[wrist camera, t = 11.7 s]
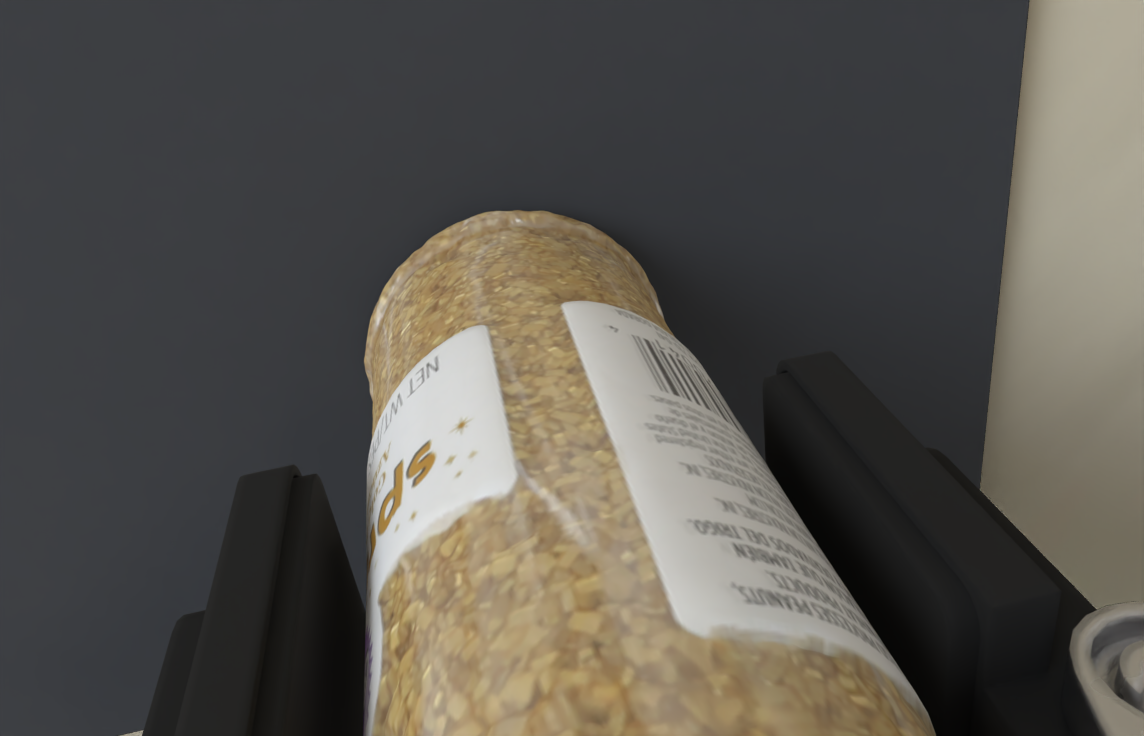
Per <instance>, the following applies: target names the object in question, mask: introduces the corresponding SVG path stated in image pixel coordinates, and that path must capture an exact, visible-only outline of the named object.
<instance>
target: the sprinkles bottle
mask: <svg viewBox="0 0 1144 736" xmlns="http://www.w3.org/2000/svg"><path fill="white" fill-rule="evenodd" d="M364 364H365V371H366V374H367V377H368V379H369V382H370V395H371V398H372V401H373V428H372V441H371V446H370V451H369V457H368V465H367V508H366V560H367V584H366V630H365V670H364V711H363V736H936V733H935V731H934V728H933V725H932V723H931V720H930V717H929V715H928V712H927V711H926V709H925V707H924V706H923V704H922V702H921V701H920V699H919V697H918V696H917V694H916V692H915V691H914V689H913V688H912V686H911V685H910V683H909V682H908V680H907V679H906V677H905V675H904V674H903V672H902V671H901V669H900V668H899V666H898V665H897V663H896V662H895V660H894V659H893V657H892V656H891V654H890V653H889V651H888V650H887V648H886V647H885V645H884V644H883V642H882V641H881V639H880V638H879V636H878V635H877V633H876V632H875V630H874V629H873V627H872V625H871V624H870V622H869V621H868V619H867V618H866V616H865V615H864V613H863V612H862V610H861V609H860V607H859V606H858V604H857V603H856V601H855V600H854V598H853V597H852V595H851V594H850V592H849V591H848V589H847V588H846V586H845V585H844V583H843V582H842V580H841V579H840V577H839V576H838V574H837V573H836V571H835V570H834V568H833V567H832V565H831V564H830V562H829V561H828V559H827V558H826V556H825V555H824V553H823V552H822V550H821V549H820V547H819V546H818V544H817V543H816V541H815V540H814V538H813V537H812V535H811V533H810V532H809V530H808V529H807V527H806V526H805V524H804V523H803V521H802V520H801V518H800V516H799V515H798V513H797V512H796V510H795V509H794V507H793V505H792V504H791V502H790V501H789V499H788V498H787V496H786V494H785V493H784V491H783V490H782V488H781V486H780V485H779V483H778V482H777V480H776V479H775V477H774V475H773V474H772V472H771V471H770V469H769V468H768V466H767V464H766V463H765V461H764V460H763V458H762V457H761V455H760V453H759V452H758V450H757V449H756V447H755V446H754V444H753V443H752V441H751V440H750V438H749V437H748V435H747V434H746V432H745V431H744V429H743V428H742V426H741V424H740V423H739V421H738V420H737V418H736V417H735V415H734V414H733V412H732V411H731V409H730V408H729V406H728V405H727V403H726V401H725V400H724V398H723V397H722V395H721V394H720V392H719V391H718V389H717V388H716V386H715V385H714V383H713V382H712V380H711V379H710V377H709V376H708V374H707V373H706V371H705V370H704V368H703V367H702V365H701V364H700V362H699V361H698V360H697V359H696V358H695V356H694V355H693V354H692V353H691V352H690V351H689V350H688V349H687V348H686V347H685V346H684V345H683V344H682V343H680V342H679V341H678V340H677V339H676V338H675V337H674V335H673V333H672V332H671V331H670V329H669V328H668V326H667V324H666V323H665V321H664V316H663V313H662V310H661V307H660V305H659V302H658V298H657V295H656V292H655V290H654V288H653V286H652V285H651V284H650V282H649V280H648V278H647V276H646V274H645V272H644V270H643V269H642V267H641V266H640V264H639V263H638V262H637V261H636V260H635V259H634V258H633V256H632V255H631V254H630V253H629V252H628V251H627V250H626V249H625V248H623V247H622V246H620V245H619V244H617V243H616V242H615V241H614V240H613V239H612V238H610V237H609V236H608V235H606V234H605V233H604V232H602V231H600V230H598V229H596V228H595V227H593V226H592V225H590V224H587V223H584V222H580V221H578V220H575V219H572V218H569V217H566V216H563V215H558V214H553V213H551V212H548V211H522V210H513V211H491V212H485V213H481V214H478V215H475V216H473V217H470V218H468V219H466V220H463V221H461V222H458V223H456V224H454V225H452V226H450V227H448V228H446V229H445V230H443V231H441V232H439V233H438V234H436V235H434V236H433V237H431V238H430V239H429V240H428V241H427V242H426V243H425V244H424V245H423V246H422V247H421V248H420V249H418V250H416V251H415V252H413V253H412V254H411V256H410V257H409V258H408V259H407V260H406V261H405V262H404V263H402V264H401V265H400V266H399V267H398V268H397V269H396V271H395V272H394V274H393V275H392V277H391V278H390V280H389V281H388V282H387V284H386V285H385V287H384V289H383V291H382V292H381V295H380V298H379V300H378V302H377V304H376V306H375V308H374V311H373V313H372V316H371V319H370V324H369V329H368V335H367V342H366V350H365V358H364Z"/></svg>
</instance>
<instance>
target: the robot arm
mask: <svg viewBox="0 0 1144 736" xmlns="http://www.w3.org/2000/svg"><path fill="white" fill-rule="evenodd" d="M763 414H764V439H765V463H766V464H767V466H768V468H769V469H770V471H771V472H772V474H773V475H774V477H775V479H776V480H777V482H778V483H779V485H780V486H781V488H782V490H783V491H784V493H785V494H786V496H787V498H788V499H789V501H790V502H791V504H792V505H793V507H794V509H795V510H796V512H797V513H798V515H799V516H800V518H801V520H802V521H803V523H804V524H805V526H806V527H807V529H808V530H809V532H810V533H811V535H812V537H813V538H814V540H815V541H816V543H817V544H818V546H819V547H820V549H821V550H822V552H823V553H824V555H825V556H826V558H827V559H828V561H829V562H830V564H831V565H832V567H833V568H834V570H835V571H836V573H837V574H838V576H839V577H840V579H841V580H842V582H843V583H844V585H845V586H846V588H847V589H848V591H849V592H850V594H851V595H852V597H853V598H854V600H855V601H856V603H857V604H858V606H859V607H860V609H861V610H862V612H863V613H864V615H865V616H866V618H867V619H868V621H869V622H870V624H871V625H872V627H873V629H874V630H875V632H876V633H877V635H878V636H879V638H880V639H881V641H882V642H883V644H884V645H885V647H886V648H887V650H888V651H889V653H890V654H891V656H892V657H893V659H894V660H895V662H896V663H897V665H898V666H899V668H900V669H901V671H902V672H903V674H904V675H905V677H906V679H907V680H908V682H909V683H910V685H911V686H912V688H913V689H914V691H915V692H916V694H917V696H918V697H919V699H920V701H921V702H922V704H923V706H924V707H925V709H926V711H927V712H928V715H929V717H930V720H931V723H932V725H933V728H934V731H935V733H936V736H1144V602H1126V603H1120V604H1113V605H1107V606H1104V607H1102V608H1100V609H1098V610H1096V609H1095V608H1094V607H1093V606H1092V605H1091V604H1090V603H1089V601H1088V600H1087V599H1086V598H1085V597H1084V596H1083V595H1082V594H1081V593H1080V592H1079V591H1078V590H1077V589H1076V588H1075V587H1074V586H1073V585H1072V584H1071V583H1070V582H1069V581H1068V580H1067V579H1066V578H1065V577H1064V576H1063V575H1062V574H1061V573H1060V572H1059V571H1058V570H1057V569H1056V568H1055V567H1054V566H1053V565H1052V564H1051V563H1050V562H1049V561H1048V560H1047V559H1046V558H1045V557H1044V556H1043V555H1042V553H1041V552H1040V551H1039V550H1038V549H1037V548H1036V547H1035V546H1034V545H1033V544H1032V543H1031V542H1030V541H1029V540H1028V539H1027V538H1026V537H1025V536H1024V535H1023V534H1022V533H1021V532H1020V531H1019V530H1018V529H1017V528H1016V527H1015V526H1014V525H1013V524H1012V523H1011V522H1010V521H1009V520H1008V519H1007V518H1006V517H1005V516H1004V515H1003V514H1002V513H1001V512H1000V511H999V510H998V509H997V508H996V506H995V505H994V504H993V503H992V502H991V501H990V500H989V499H988V498H987V497H986V496H985V495H984V494H983V493H982V492H981V491H980V490H979V489H978V488H977V487H976V486H975V485H974V484H973V483H972V482H971V481H970V480H969V479H968V478H967V477H966V476H965V475H964V474H963V473H962V472H961V471H960V470H959V469H958V468H957V467H956V466H955V465H954V464H953V463H952V462H951V461H950V460H949V458H948V457H946V456H945V455H944V454H942V453H941V452H940V451H939V450H937V449H934V448H929V447H927V448H925V447H924V446H923V445H922V444H921V443H920V442H919V441H918V440H917V439H916V438H915V437H914V436H913V435H912V434H911V433H910V432H909V431H908V430H907V429H906V427H905V426H904V425H903V424H902V423H901V422H900V421H899V420H898V419H897V418H896V417H895V416H894V415H893V414H892V413H891V412H890V411H889V410H888V409H887V408H886V407H885V406H884V404H883V403H882V402H881V401H880V400H879V399H878V398H877V397H876V396H875V395H874V394H873V393H872V392H871V391H870V390H869V389H868V388H867V387H866V386H865V385H864V384H863V382H862V381H861V380H860V379H859V378H858V377H857V376H856V375H855V374H854V373H853V372H852V371H851V370H850V369H849V368H848V367H847V366H846V365H845V364H844V363H843V362H842V361H841V359H840V358H839V357H838V356H837V355H836V354H834V353H833V352H832V351H824V352H819V353H815V354H810V355H805V356H800V357H796V358H791V359H786V360H782V361H780V362H779V364H778V366H777V370H776V375H773V376H768V377H766V378H765V379H764V381H763ZM365 630H366V611H365V608H364V605H363V602H362V599H361V596H360V593H359V590H358V587H357V584H356V581H355V578H354V575H353V572H352V569H351V566H350V563H349V560H348V557H347V554H346V552H345V549H344V546H343V543H342V540H341V537H340V534H339V531H338V528H337V525H336V522H335V519H334V516H333V513H332V510H331V507H330V504H329V501H328V498H327V495H326V492H325V489H324V486H323V483H322V481H321V479H320V477H319V475H318V474H311V475H306V476H302V475H301V472H300V471H299V469H298V467H297V466H295V465H294V464H293V465H289V466H284V467H279V468H275V469H270V470H265V471H261V472H256V473H251V474H246V475H243V476H241V477H240V478H239V480H238V483H237V487H236V491H235V495H234V499H233V503H232V507H231V511H230V515H229V519H228V523H227V527H226V531H225V535H224V539H223V543H222V547H221V551H220V555H219V559H218V563H217V567H216V571H215V575H214V579H213V583H212V587H211V591H210V595H209V599H208V603H207V607H206V610H203V611H199V612H195V613H190V614H186V615H183V616H182V617H181V618H180V619H178V620H177V622H176V624H175V626H174V629H173V631H172V634H171V637H170V641H169V644H168V648H167V651H166V654H165V658H164V661H163V665H162V668H161V672H160V675H159V679H158V682H157V686H156V689H155V693H154V696H153V700H152V703H151V707H150V710H149V714H148V717H147V720H146V724H145V727H144V731H143V734H142V736H363V711H364V670H365Z"/></svg>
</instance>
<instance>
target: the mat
mask: <svg viewBox="0 0 1144 736" xmlns="http://www.w3.org/2000/svg"><path fill="white" fill-rule="evenodd" d="M1028 9H1029V0H0V736H119V735H124V734H128V733H132V732H136V731H141V730H144V727H145V724H146V720H147V717H148V714H149V710H150V707H151V703H152V700H153V696H154V693H155V689H156V686H157V682H158V679H159V675H160V672H161V668H162V665H163V661H164V658H165V654H166V651H167V648H168V644H169V641H170V637H171V634H172V631H173V629H174V626H175V624H176V622H177V620H178V619H180V618H181V617H182V616H183V615H186V614H190V613H195V612H199V611H203V610H206V607H207V603H208V599H209V595H210V591H211V587H212V583H213V579H214V575H215V571H216V567H217V563H218V559H219V555H220V551H221V547H222V543H223V539H224V535H225V531H226V527H227V523H228V519H229V515H230V511H231V507H232V503H233V499H234V495H235V491H236V487H237V483H238V480H239V478H240V477H241V476H243V475H246V474H251V473H256V472H261V471H265V470H270V469H275V468H279V467H284V466H289V465H293V464H294V465H295V466H297V467H298V469H299V471H300V472H301V475H302V476H306V475H311V474H318V475H319V477H320V479H321V481H322V483H323V486H324V489H325V492H326V495H327V498H328V501H329V504H330V507H331V510H332V513H333V516H334V519H335V522H336V525H337V528H338V531H339V534H340V537H341V540H342V543H343V546H344V549H345V552H346V554H347V557H348V560H349V563H350V566H351V569H352V572H353V575H354V578H355V581H356V584H357V587H358V590H359V593H360V596H361V599H362V602H363V605H364V608H365V611H366V584H367V560H366V508H367V465H368V457H369V451H370V446H371V441H372V428H373V401H372V398H371V395H370V382H369V379H368V377H367V374H366V371H365V364H364V358H365V350H366V342H367V335H368V329H369V324H370V319H371V316H372V313H373V311H374V308H375V306H376V304H377V302H378V300H379V298H380V295H381V292H382V291H383V289H384V287H385V285H386V284H387V282H388V281H389V280H390V278H391V277H392V275H393V274H394V272H395V271H396V269H397V268H398V267H399V266H400V265H401V264H402V263H404V262H405V261H406V260H407V259H408V258H409V257H410V256H411V254H412V253H413V252H415V251H416V250H418V249H420V248H421V247H422V246H423V245H424V244H425V243H426V242H427V241H428V240H429V239H430V238H431V237H433V236H434V235H436V234H438V233H439V232H441V231H443V230H445V229H446V228H448V227H450V226H452V225H454V224H456V223H458V222H461V221H463V220H466V219H468V218H470V217H473V216H475V215H478V214H481V213H485V212H491V211H513V210H522V211H548V212H551V213H553V214H558V215H563V216H566V217H569V218H572V219H575V220H578V221H580V222H584V223H587V224H590V225H592V226H593V227H595V228H596V229H598V230H600V231H602V232H604V233H605V234H606V235H608V236H609V237H610V238H612V239H613V240H614V241H615V242H616V243H617V244H619V245H620V246H622V247H623V248H625V249H626V250H627V251H628V252H629V253H630V254H631V255H632V256H633V258H634V259H635V260H636V261H637V262H638V263H639V264H640V266H641V267H642V269H643V270H644V272H645V274H646V276H647V278H648V280H649V282H650V284H651V285H652V286H653V288H654V290H655V292H656V295H657V298H658V302H659V305H660V307H661V310H662V313H663V316H664V321H665V323H666V324H667V326H668V328H669V329H670V331H671V332H672V333H673V335H674V337H675V338H676V339H677V340H678V341H679V342H680V343H682V344H683V345H684V346H685V347H686V348H687V349H688V350H689V351H690V352H691V353H692V354H693V355H694V356H695V358H696V359H697V360H698V361H699V362H700V364H701V365H702V367H703V368H704V370H705V371H706V373H707V374H708V376H709V377H710V379H711V380H712V382H713V383H714V385H715V386H716V388H717V389H718V391H719V392H720V394H721V395H722V397H723V398H724V400H725V401H726V403H727V405H728V406H729V408H730V409H731V411H732V412H733V414H734V415H735V417H736V418H737V420H738V421H739V423H740V424H741V426H742V428H743V429H744V431H745V432H746V434H747V435H748V437H749V438H750V440H751V441H752V443H753V444H754V446H755V447H756V449H757V450H758V452H759V453H760V455H761V457H762V458H763V460H764V461H765V439H764V414H763V381H764V379H765V378H766V377H768V376H773V375H776V370H777V366H778V364H779V362H780V361H782V360H786V359H791V358H796V357H800V356H805V355H810V354H815V353H819V352H824V351H832V352H833V353H834V354H836V355H837V356H838V357H839V358H840V359H841V361H842V362H843V363H844V364H845V365H846V366H847V367H848V368H849V369H850V370H851V371H852V372H853V373H854V374H855V375H856V376H857V377H858V378H859V379H860V380H861V381H862V382H863V384H864V385H865V386H866V387H867V388H868V389H869V390H870V391H871V392H872V393H873V394H874V395H875V396H876V397H877V398H878V399H879V400H880V401H881V402H882V403H883V404H884V406H885V407H886V408H887V409H888V410H889V411H890V412H891V413H892V414H893V415H894V416H895V417H896V418H897V419H898V420H899V421H900V422H901V423H902V424H903V425H904V426H905V427H906V429H907V430H908V431H909V432H910V433H911V434H912V435H913V436H914V437H915V438H916V439H917V440H918V441H919V442H920V443H921V444H922V445H923V446H924V447H925V448H927V447H929V448H934V449H937V450H939V451H940V452H941V453H942V454H944V455H945V456H946V457H948V458H949V460H950V461H951V462H952V463H953V464H954V465H955V466H956V467H957V468H958V469H959V470H960V471H961V472H962V473H963V474H964V475H965V476H966V477H967V478H968V479H969V480H970V481H971V482H972V483H973V484H974V485H975V486H976V487H977V488H978V489H979V490H980V480H981V471H982V461H983V451H984V441H985V431H986V422H987V412H988V402H989V392H990V382H991V372H992V363H993V353H994V343H995V333H996V323H997V314H998V304H999V294H1000V284H1001V274H1002V264H1003V255H1004V245H1005V235H1006V225H1007V215H1008V206H1009V196H1010V186H1011V176H1012V166H1013V156H1014V147H1015V137H1016V127H1017V117H1018V107H1019V98H1020V88H1021V78H1022V68H1023V58H1024V48H1025V39H1026V29H1027V19H1028Z"/></svg>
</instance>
